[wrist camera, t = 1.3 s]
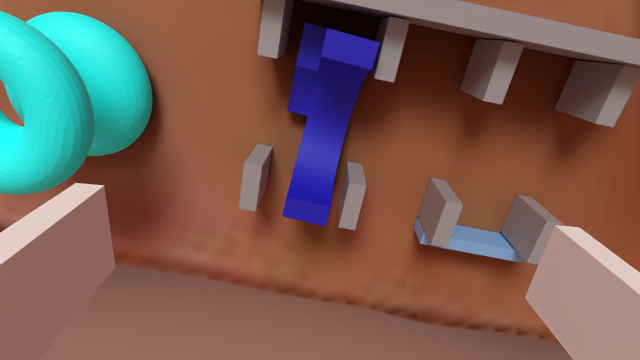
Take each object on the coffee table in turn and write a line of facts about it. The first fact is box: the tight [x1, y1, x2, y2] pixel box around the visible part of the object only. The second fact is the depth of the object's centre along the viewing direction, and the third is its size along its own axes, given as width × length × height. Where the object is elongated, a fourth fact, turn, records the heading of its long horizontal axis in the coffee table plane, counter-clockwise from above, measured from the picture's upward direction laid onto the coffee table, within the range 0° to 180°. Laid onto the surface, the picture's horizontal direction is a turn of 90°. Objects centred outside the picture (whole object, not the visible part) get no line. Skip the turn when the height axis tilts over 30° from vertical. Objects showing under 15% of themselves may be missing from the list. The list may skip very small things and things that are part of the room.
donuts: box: [0, 11, 153, 195], centre depth 23 cm, size 10×10×10 cm
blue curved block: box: [282, 22, 380, 226], centre depth 25 cm, size 12×4×6 cm, turn 166°
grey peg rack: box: [239, 0, 640, 265], centre depth 25 cm, size 25×16×6 cm, turn 79°
